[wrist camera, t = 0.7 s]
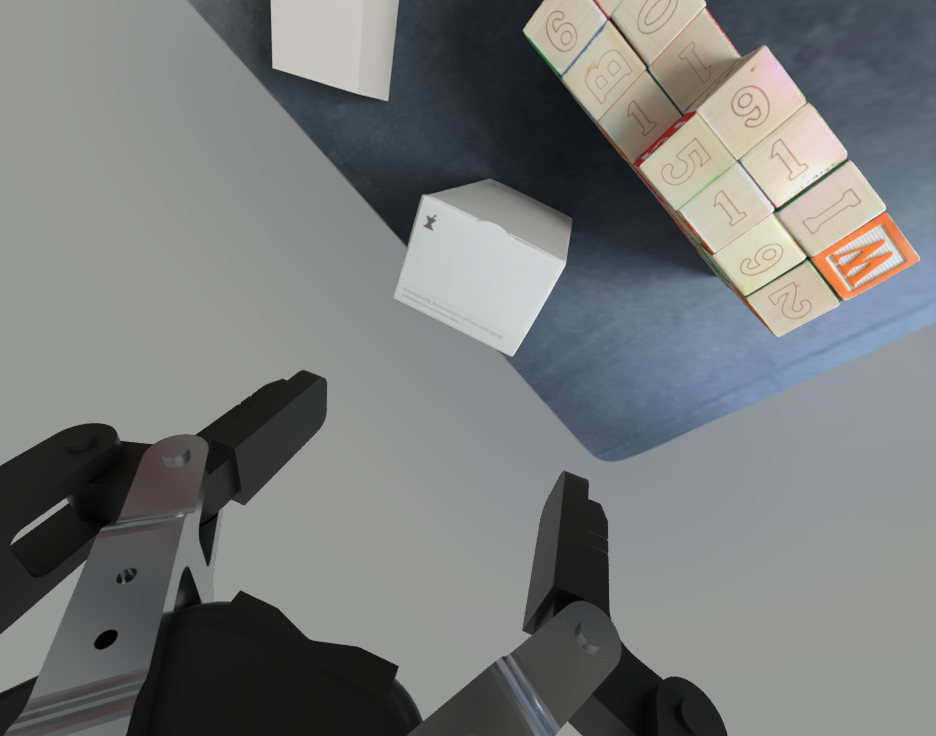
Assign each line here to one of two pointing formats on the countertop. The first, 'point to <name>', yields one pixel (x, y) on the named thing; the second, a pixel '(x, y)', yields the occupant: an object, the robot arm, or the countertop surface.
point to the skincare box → (484, 260)
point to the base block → (336, 42)
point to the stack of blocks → (726, 152)
